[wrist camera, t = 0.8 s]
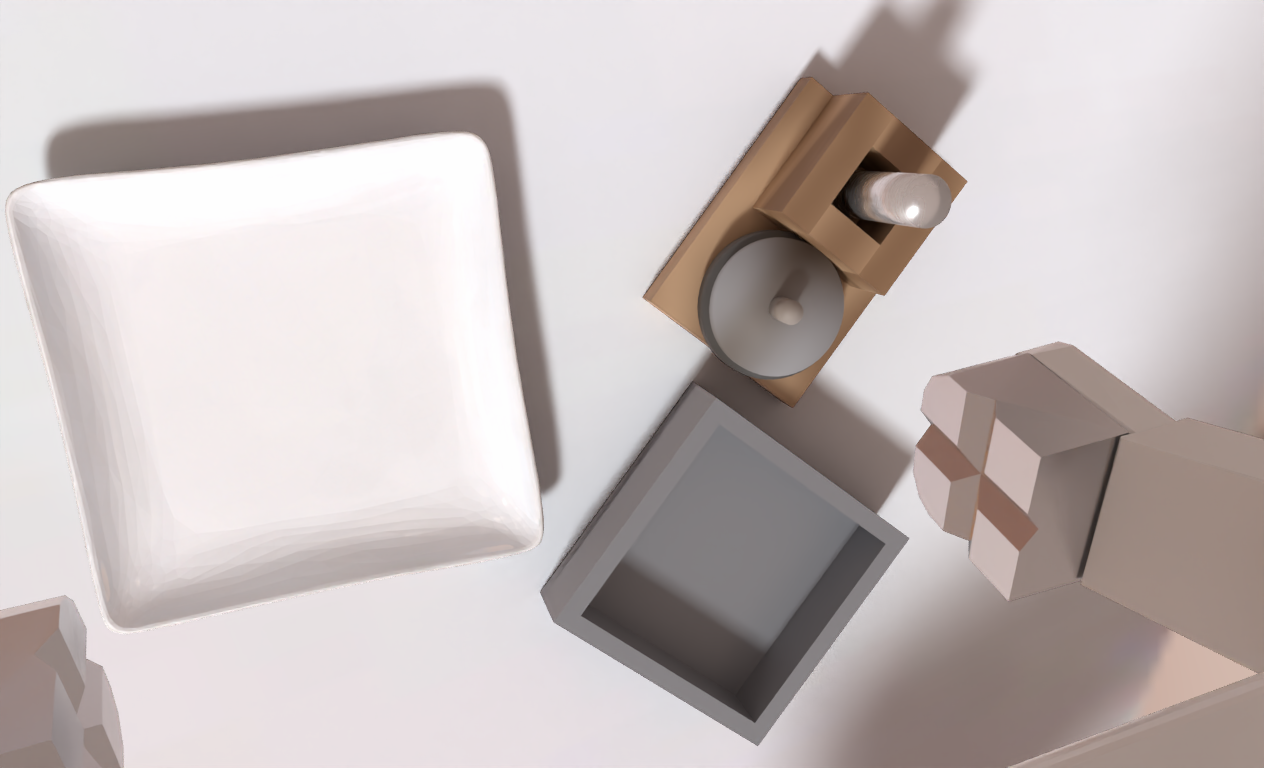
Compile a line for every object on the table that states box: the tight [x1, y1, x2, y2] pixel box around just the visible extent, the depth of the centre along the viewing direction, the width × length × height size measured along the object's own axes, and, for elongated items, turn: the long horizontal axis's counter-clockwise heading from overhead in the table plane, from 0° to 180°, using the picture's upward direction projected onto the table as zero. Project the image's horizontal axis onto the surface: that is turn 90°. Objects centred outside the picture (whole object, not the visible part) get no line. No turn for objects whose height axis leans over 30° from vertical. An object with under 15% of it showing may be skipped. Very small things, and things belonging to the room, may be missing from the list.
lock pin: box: [831, 170, 952, 229], centre depth 55 cm, size 2×2×9 cm
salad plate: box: [5, 131, 544, 634], centre depth 54 cm, size 21×21×3 cm
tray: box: [540, 382, 909, 746], centre depth 61 cm, size 14×14×4 cm
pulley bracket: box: [643, 77, 967, 408], centre depth 58 cm, size 10×14×6 cm
